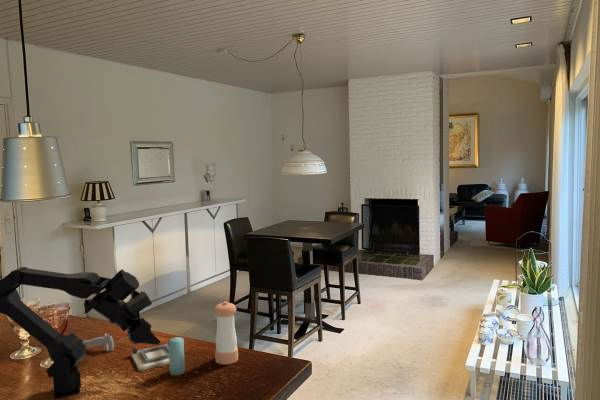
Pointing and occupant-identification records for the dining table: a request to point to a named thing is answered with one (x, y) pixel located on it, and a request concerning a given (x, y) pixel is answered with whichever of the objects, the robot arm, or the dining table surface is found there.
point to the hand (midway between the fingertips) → (154, 337)
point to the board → (151, 356)
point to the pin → (176, 356)
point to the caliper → (101, 342)
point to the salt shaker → (226, 334)
